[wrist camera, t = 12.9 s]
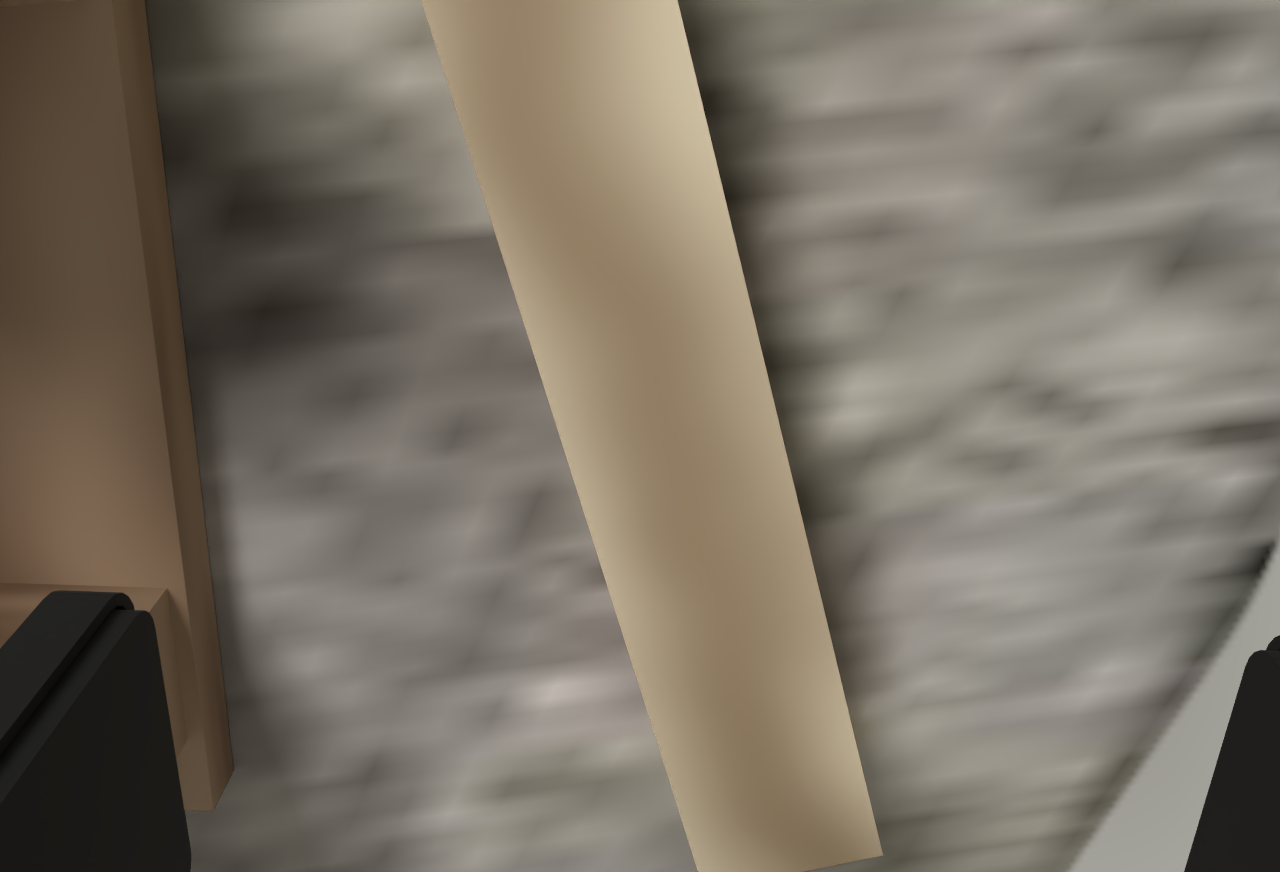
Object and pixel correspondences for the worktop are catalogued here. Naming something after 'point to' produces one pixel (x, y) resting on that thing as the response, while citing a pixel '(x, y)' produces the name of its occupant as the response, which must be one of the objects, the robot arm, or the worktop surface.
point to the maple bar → (664, 412)
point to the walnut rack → (100, 358)
